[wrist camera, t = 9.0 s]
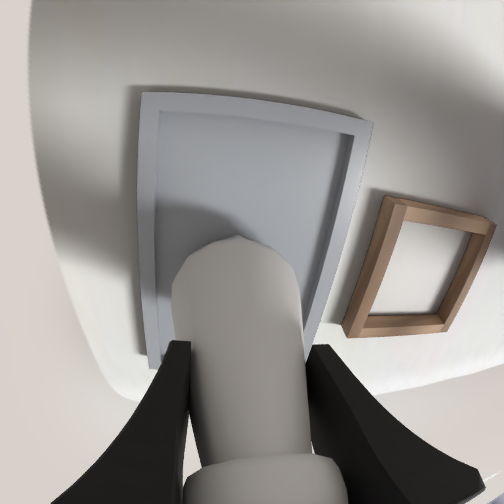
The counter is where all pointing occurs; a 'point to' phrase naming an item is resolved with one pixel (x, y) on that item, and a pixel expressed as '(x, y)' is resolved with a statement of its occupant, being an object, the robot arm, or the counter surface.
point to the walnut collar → (379, 257)
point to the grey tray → (242, 192)
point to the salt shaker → (248, 379)
